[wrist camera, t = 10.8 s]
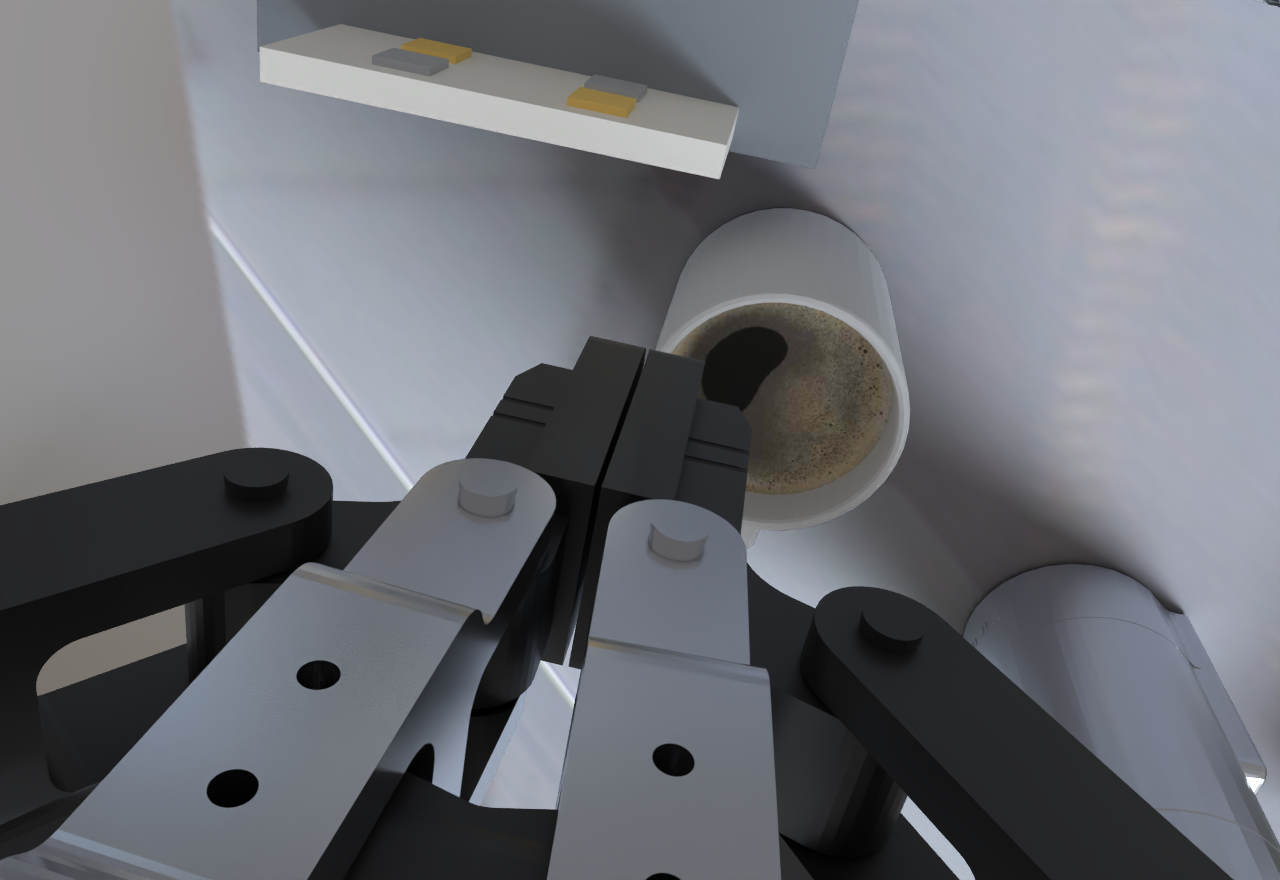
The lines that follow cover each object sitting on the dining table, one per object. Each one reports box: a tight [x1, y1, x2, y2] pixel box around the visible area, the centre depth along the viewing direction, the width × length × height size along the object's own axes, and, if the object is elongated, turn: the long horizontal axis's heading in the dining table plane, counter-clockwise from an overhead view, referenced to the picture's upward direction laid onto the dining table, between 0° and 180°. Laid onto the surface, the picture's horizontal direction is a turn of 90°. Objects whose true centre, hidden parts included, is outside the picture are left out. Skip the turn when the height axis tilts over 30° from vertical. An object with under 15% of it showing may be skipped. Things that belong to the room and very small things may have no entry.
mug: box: [655, 208, 910, 549], centre depth 39 cm, size 11×10×10 cm
